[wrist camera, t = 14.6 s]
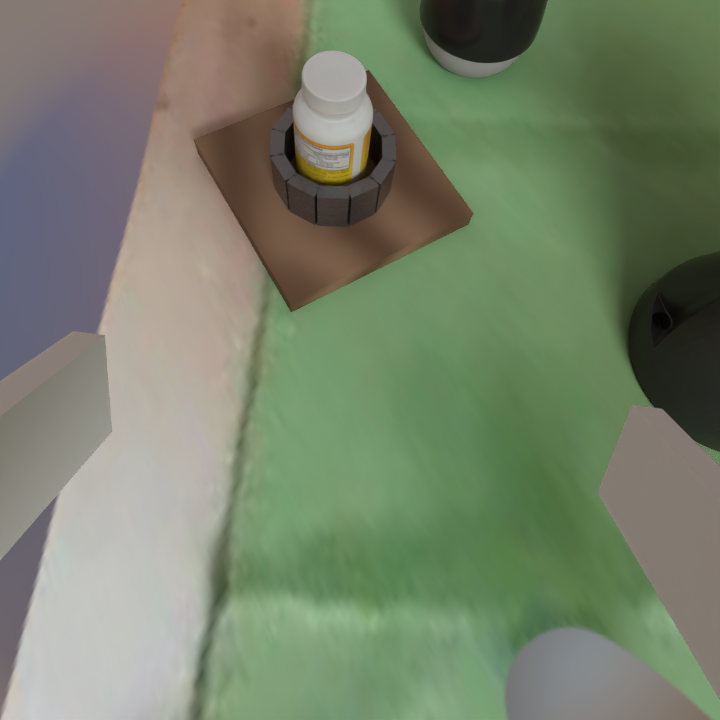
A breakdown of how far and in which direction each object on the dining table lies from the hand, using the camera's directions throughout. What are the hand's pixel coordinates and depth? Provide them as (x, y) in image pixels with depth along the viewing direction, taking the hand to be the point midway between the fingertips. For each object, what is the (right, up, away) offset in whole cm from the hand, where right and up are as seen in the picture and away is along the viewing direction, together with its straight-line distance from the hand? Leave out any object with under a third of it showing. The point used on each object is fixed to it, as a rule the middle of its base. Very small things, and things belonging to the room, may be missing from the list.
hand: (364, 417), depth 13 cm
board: (-2, +15, +29) cm, 33 cm away
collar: (-2, +16, +28) cm, 32 cm away
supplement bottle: (-2, +16, +28) cm, 32 cm away
